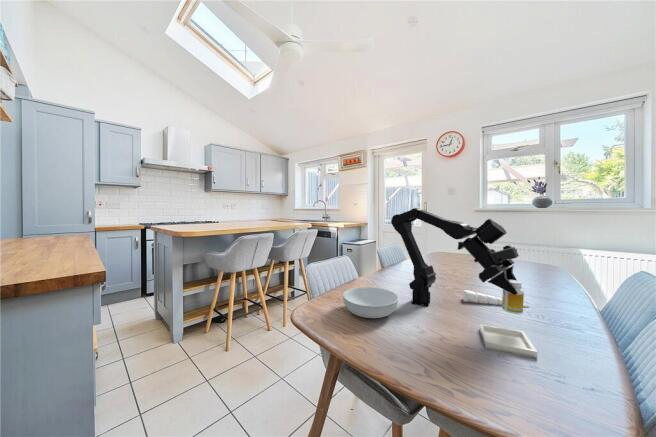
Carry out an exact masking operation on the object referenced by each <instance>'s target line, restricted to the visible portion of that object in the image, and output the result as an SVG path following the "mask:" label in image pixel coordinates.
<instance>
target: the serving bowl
mask: <svg viewBox="0 0 656 437" xmlns="http://www.w3.org/2000/svg"><path fill="white" fill-rule="evenodd" d="M342 300H343V304H344V306H345V308H346V309H347V311H349V312H351V313H352V314H353V315H355V316H358V317H361V318H366V319H367V318H368V319H380V318H381V319H382V318H384V317H387V316H390V315H391V314H393V312H394V311H395V310H396V309H397V306H398V302H399V296H398V295H397V294H396V293H395V292H394V291H391V290H388V289H385V288H381V287H373V286H372V287H371V286H359V287H357V286H356V287H352V288H349V289H347V290H345V291H344V292H343V293H342Z"/></svg>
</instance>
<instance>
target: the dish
mask: <svg viewBox="0 0 656 437" xmlns="http://www.w3.org/2000/svg"><path fill="white" fill-rule="evenodd" d="M479 332H480V335H481V338H482V342H483V343H484V344H483V345H484V347H485V349H488V350H492V351H498V352H503V353H507V354H513V355H519V356H524V357H528V358H534V359H538V350H537V349H536V347H535V346H534V344H533V343H532V341H531V340H530V339H529V337H528V335H527V334H526V333H525V331H524V330H523V331H522V330H517V329H512V328H511V329H510V328H505V327H500V326H495V325H494V326H492V325H488V324H481V323H480V324H479Z"/></svg>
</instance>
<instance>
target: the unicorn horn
mask: <svg viewBox="0 0 656 437" xmlns="http://www.w3.org/2000/svg"><path fill="white" fill-rule="evenodd" d="M462 300H463V302H466V303H476V304H478V303H479V304H484V305H485V304H486V305H487V304H488V305H496V306H498V305H499V306H502V298H501V297H498V296H493V295H489V294H484V293H480V292H476V291H472V290H468V289H463V293H462ZM530 307H531V306H530V305H527V304H524V303H523V308H530Z"/></svg>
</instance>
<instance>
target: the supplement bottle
mask: <svg viewBox="0 0 656 437" xmlns="http://www.w3.org/2000/svg"><path fill="white" fill-rule="evenodd" d="M509 281H510V283H511V284H512V286H513V287H514V288H515V290H516V291H517V294H516V295H514V294H512V293H510V292H508V291H506V290H504V289H502V305H501V308H502V310H503V311H504V312H506V313H509V314H514V315H522V314H524V307H523V304H524V297H525V292H524V290H523V288H522V282H521V281H519V280H517V281H516V280H509ZM520 287H521V288H522V289H521V288H520Z"/></svg>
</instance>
